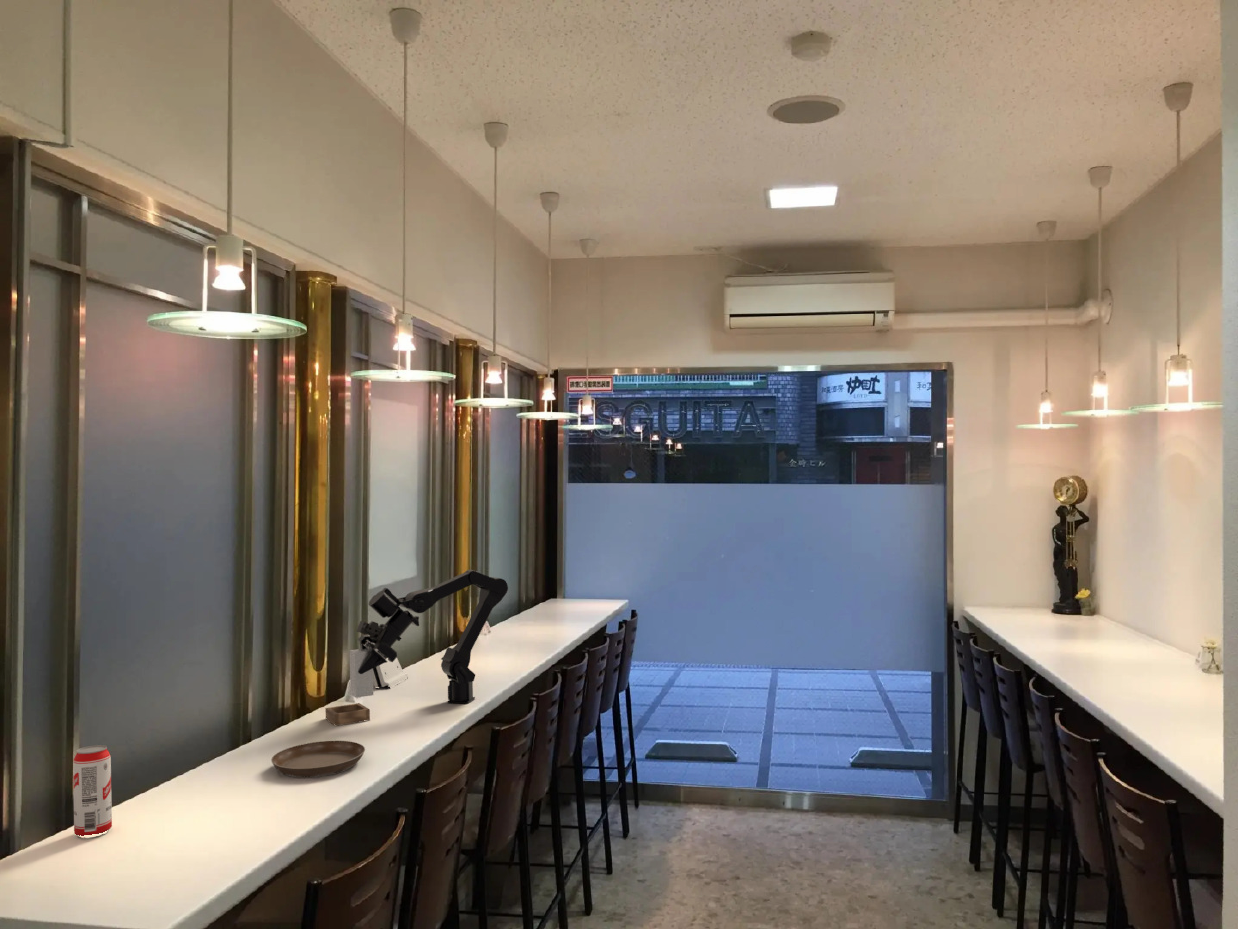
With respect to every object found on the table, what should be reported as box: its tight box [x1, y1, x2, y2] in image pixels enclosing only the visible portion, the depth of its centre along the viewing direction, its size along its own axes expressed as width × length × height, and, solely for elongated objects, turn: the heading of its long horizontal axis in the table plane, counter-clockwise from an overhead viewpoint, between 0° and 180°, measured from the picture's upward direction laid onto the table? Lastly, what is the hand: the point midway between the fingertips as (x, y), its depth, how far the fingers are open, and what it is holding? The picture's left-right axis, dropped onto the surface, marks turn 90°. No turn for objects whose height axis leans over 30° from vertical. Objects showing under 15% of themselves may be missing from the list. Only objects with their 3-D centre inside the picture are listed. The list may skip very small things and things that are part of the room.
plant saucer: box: [271, 740, 366, 778], centre depth 216 cm, size 21×21×3 cm
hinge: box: [373, 657, 409, 688], centre depth 306 cm, size 17×5×10 cm, turn 172°
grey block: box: [349, 648, 374, 698], centre depth 262 cm, size 5×5×12 cm
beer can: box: [72, 744, 113, 836], centre depth 177 cm, size 6×6×16 cm
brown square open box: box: [325, 702, 371, 726], centre depth 259 cm, size 10×10×3 cm
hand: (356, 671), depth 261 cm, fingers closed on grey block, 5 cm apart
